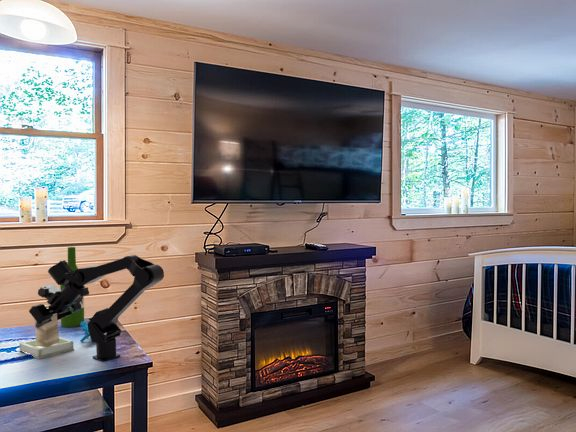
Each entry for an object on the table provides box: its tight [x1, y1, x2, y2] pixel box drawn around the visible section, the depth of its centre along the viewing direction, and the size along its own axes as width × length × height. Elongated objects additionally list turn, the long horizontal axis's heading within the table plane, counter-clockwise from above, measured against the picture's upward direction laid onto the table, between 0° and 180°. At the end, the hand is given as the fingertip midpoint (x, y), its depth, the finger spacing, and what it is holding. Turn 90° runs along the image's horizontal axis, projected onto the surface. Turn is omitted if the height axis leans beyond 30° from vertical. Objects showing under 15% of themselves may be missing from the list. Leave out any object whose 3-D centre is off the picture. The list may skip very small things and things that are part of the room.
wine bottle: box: [59, 246, 85, 328], centre depth 197 cm, size 9×9×32 cm
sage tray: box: [19, 336, 74, 360], centre depth 164 cm, size 13×12×3 cm
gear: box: [79, 321, 91, 343], centre depth 175 cm, size 11×6×10 cm
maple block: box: [33, 304, 60, 347], centre depth 164 cm, size 5×5×13 cm
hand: (43, 324), depth 164 cm, fingers closed on maple block, 5 cm apart
